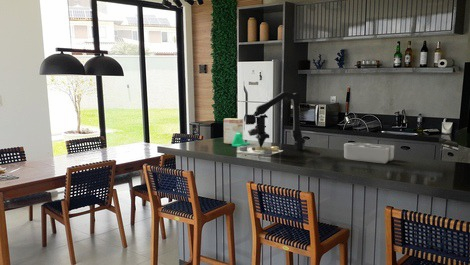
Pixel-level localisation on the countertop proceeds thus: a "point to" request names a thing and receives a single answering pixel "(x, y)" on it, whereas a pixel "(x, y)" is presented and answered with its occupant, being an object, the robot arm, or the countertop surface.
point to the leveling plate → (257, 151)
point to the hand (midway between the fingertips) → (260, 147)
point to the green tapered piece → (239, 140)
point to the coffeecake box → (232, 129)
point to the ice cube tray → (369, 152)
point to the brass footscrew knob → (274, 148)
